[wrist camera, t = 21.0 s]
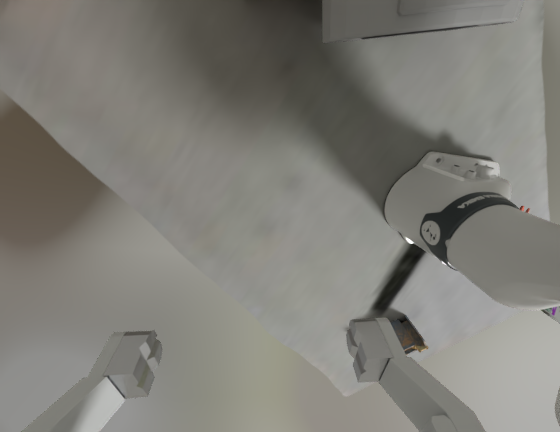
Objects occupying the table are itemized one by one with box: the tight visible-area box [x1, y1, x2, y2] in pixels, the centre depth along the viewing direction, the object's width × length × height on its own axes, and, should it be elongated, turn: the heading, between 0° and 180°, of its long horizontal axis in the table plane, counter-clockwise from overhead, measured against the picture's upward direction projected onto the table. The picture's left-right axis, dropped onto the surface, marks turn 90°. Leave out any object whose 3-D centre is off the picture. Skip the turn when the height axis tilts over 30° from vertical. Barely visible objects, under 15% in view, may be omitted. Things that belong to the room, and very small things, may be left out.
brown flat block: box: [391, 315, 428, 355], centre depth 60 cm, size 11×3×10 cm, turn 120°
